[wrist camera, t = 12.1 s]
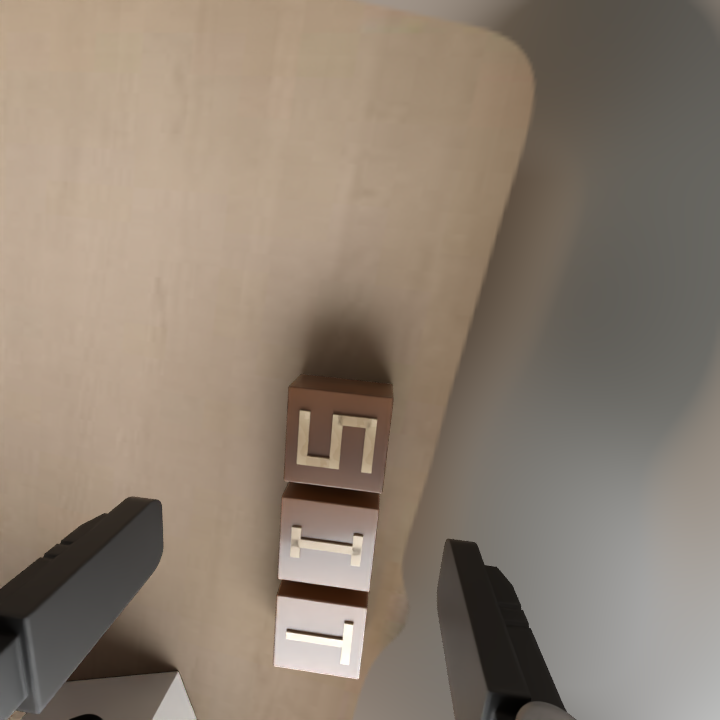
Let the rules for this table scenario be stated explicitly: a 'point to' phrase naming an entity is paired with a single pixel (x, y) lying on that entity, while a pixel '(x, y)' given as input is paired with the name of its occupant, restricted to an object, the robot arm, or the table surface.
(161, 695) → the icon cube
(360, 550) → the tile
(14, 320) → the table surface
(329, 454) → the tile
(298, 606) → the tile
